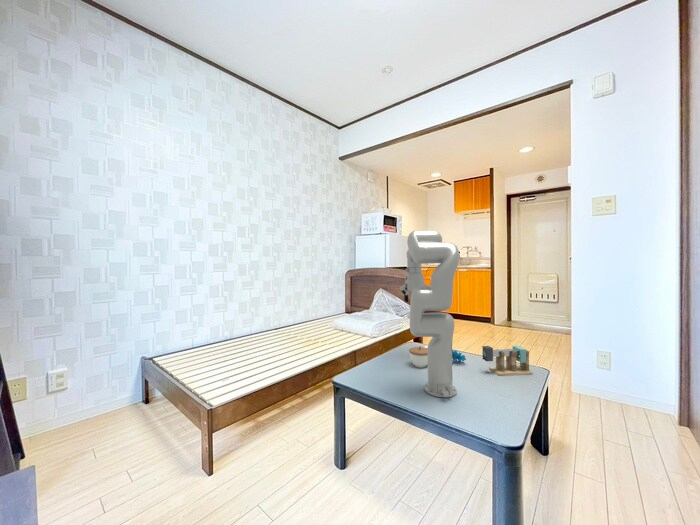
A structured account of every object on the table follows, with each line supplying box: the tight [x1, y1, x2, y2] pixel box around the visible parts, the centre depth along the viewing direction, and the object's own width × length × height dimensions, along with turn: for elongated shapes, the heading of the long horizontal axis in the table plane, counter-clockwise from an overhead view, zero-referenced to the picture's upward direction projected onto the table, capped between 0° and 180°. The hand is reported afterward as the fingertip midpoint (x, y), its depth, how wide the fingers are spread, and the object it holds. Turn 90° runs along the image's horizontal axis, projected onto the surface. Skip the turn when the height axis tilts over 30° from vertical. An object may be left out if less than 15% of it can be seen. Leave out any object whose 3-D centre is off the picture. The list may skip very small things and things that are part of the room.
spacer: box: [512, 345, 527, 363], centre depth 135 cm, size 6×2×6 cm, turn 5°
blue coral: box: [452, 349, 467, 365], centre depth 147 cm, size 11×6×10 cm
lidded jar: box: [408, 345, 428, 368], centre depth 144 cm, size 11×11×9 cm
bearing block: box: [488, 349, 533, 377], centre depth 134 cm, size 8×16×10 cm, turn 95°
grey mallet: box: [482, 345, 528, 362], centre depth 134 cm, size 4×20×6 cm, turn 95°
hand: (414, 301), depth 158 cm, fingers open, 9 cm apart
